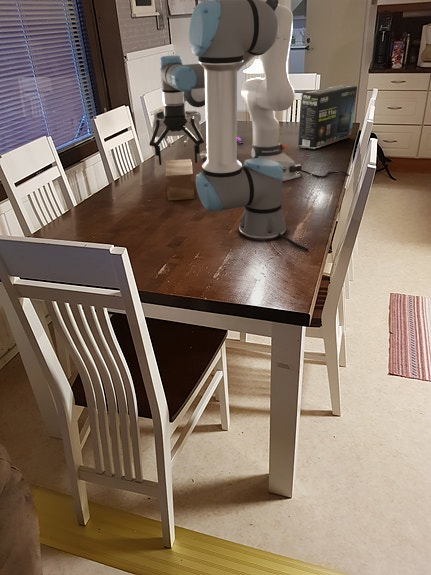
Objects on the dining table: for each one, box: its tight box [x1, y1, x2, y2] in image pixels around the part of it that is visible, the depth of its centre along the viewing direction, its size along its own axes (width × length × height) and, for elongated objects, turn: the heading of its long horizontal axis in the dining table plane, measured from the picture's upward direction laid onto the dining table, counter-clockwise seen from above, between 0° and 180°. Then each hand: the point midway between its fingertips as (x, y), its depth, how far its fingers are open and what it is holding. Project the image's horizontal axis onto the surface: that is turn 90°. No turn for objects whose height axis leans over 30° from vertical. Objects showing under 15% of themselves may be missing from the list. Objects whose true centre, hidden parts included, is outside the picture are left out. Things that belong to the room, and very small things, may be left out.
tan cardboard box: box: [165, 158, 196, 201], centre depth 185 cm, size 21×10×10 cm, turn 5°
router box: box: [297, 84, 358, 151], centre depth 238 cm, size 36×11×27 cm, turn 134°
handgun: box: [237, 136, 244, 146], centre depth 255 cm, size 21×8×2 cm, turn 11°
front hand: (178, 163), depth 175 cm, fingers open, 13 cm apart
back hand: (177, 146), depth 194 cm, fingers open, 6 cm apart
